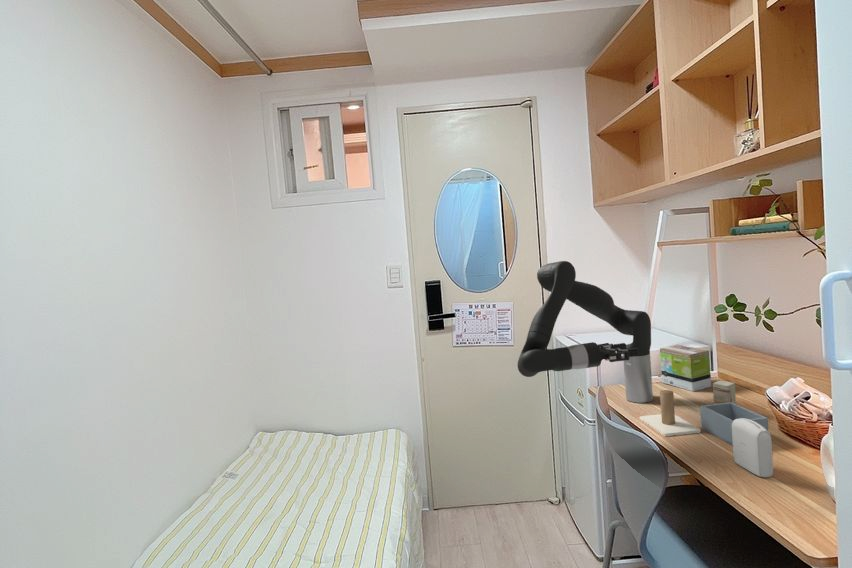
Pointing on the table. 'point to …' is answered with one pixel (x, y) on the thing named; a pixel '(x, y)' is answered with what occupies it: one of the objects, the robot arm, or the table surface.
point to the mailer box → (726, 419)
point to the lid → (669, 418)
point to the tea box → (685, 367)
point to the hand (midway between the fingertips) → (632, 348)
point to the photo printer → (752, 447)
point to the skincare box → (724, 392)
